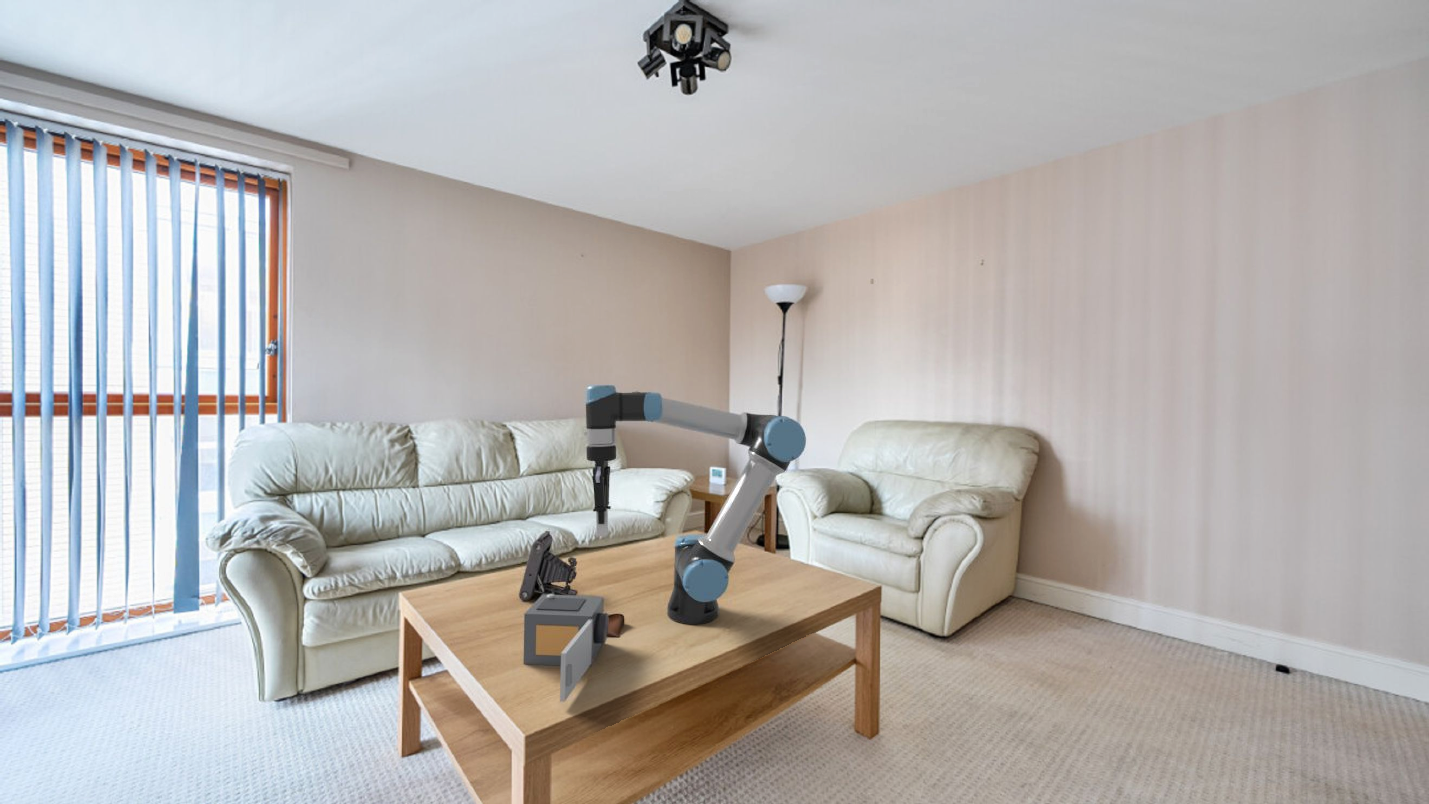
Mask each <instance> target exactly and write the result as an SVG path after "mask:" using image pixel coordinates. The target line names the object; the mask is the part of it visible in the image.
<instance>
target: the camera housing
mask: <svg viewBox="0 0 1429 804" xmlns="http://www.w3.org/2000/svg"><path fill="white" fill-rule="evenodd" d="M604 599H605V597H604V596H594V595H575V596H572V595H554V594H548V595H545V594H542V593H541V595H540V597H539V598H538V599H537V600H536V601H535V602H534V603H532V605H531V606H530V607H529V608H528V609H527V610H526V612H524V617H523V618H524V619H523V665H537V664H538V665H540V666H543V665H544V666H561V653H562V651H563V650H564V649H565V648H566V646H567V645H568V644H569V643H570V642H571V640H572V639H573V638H574V637H575V636H576V634H577V633H578V632H579V631H580V629H581V628H582V627H583V626H584V625H585V623H586V622H587V621H588V619H593V649H592V663H591V664H590V666H589V667H588V668H590V667H591V666H592V664H593V662H594V661H595V658H596V657H597V655H598V652H599V651H600V649H601V647H602V645H604V644H606V641H607V638H608V637H607V634H608V626H609V617H608V614H609V613H607V612H604V603H605V601H604ZM538 665H537V666H538Z"/></svg>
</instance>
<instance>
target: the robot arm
mask: <svg viewBox="0 0 1429 804" xmlns="http://www.w3.org/2000/svg"><path fill="white" fill-rule="evenodd" d="M585 390H586V393H585V423H586V424H585V425H586V426H585V427H586V431H584V433H583V434H584V436H586V444H588V445H587V446H586V460H587V461H588V462H594V467H593V468H592V476H591V477H592V484H593V485H592V486H593V499H594V501H593V502H594V503H593V504H594V508H593V509H592V511H593V512H596V513H595V514H596V517H595V518H596V525H595V527H596V537H608V535H609V511H608V510H611V509H612V508H611V507H612V506H611V505H610V478H611V477H610V475H611V465H609V462H610V461H614V460H616V459H617V446H616V445H615V444H616V443H617V425H616V424H617V422H652V423H656V424H660V425H666V426H669V427H670V426H671V427H674V428H680V429H684V430H688V431H689V430H690V431H692V432H698V433H703V434H707V435H711V436H716V437H719V438H720V437H721V438H724V439H731V440H734V441H735V443H736V444H737V445H741V446H745V447H749V449H748V450H747V453H748V458H749V459H748V461H747V462H746V465H745V466H744V468H743V471H742V472H741V474H740V475H739V477H738V478H737V480H736V483H735V484H734V486H733V487H732V489H731V491H730V493H729V495H728V497H727V498H726V500H725V502H724V504H723V505H722V507H721V509H720V511H719V513H718V514H717V516H716V518H715V519H714V521H713V523H712V525H711V527H710V528H709V530H708V532H707V534H694V533H693V534H685V535H684V534H683V535H679V536H677V537H676V538H675V541H674V546H673V548H674V569H673V570H674V571H673V573H674V574H673V588H672V589H673V590H672V591H671V595H670V597H669V600H668V604H667V609H666V610H667V612H666V615H667V616H668V618H669V619H671V620H672V621H675V622H677V623H680V624H686V625H700V624H701V625H703V624H706V623H710V622H712V621H714V620H716V619H717V618H718V617H719V614H720V613H719V611H720V607H719V603H718V599H719V598H721V597H722V596H723V594H725V592H726V590H727V589H728V586H729V580H730V579H729V578H730V577H729V576H730V575H729V573H730V571H731V569H732V567H733V566H734V563H735V562H736V557H735V550H736V549H737V547H738V546H739V544H740V542H741V540H742V537H744V535H745V533H746V531H747V529H748V527H749V525H750V524H751V522H752V520H753V518H754V516H755V514H756V513H757V511H758V509H759V508H760V506H761V504H762V502H763V500H764V498H765V497H766V495H767V493H768V491H769V490H770V488H771V486H772V484H773V483H774V480H775V479H776V477H777V475H780V474H783V473H786V471H787V470H788V467H789V466H790V464H791V462H792V461H795V460H797V459H798V458H799V457H800V456H801V455H803V452H804V451H805V448H806V444H807V443H806V442H807V437H806V432H805V430H804V428H803V426H802V425H801V424H800V423H799V422H798V421H796V420H795V419H793V418H791V417H788V416H784V415H775V414H755V413H750V412H746V411H743V412H742V413H740V414H738V413H734V412H730V411H725V410H720V409H715V408H711V407H707V406H702V405H697V404H694V403H689V402H683V401H680V400H676V399H675V400H674V399H672V398H668V397H667V398H666V397H662V395H661V393H660V392H651V391H647V392H644V391H643V392H641V391H632V392H617V389H616V386H615V385H612V384H610V385H609V384H602V385H600V384H593V385H588V386H587V388H586V389H585Z"/></svg>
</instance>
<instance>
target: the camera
mask: <svg viewBox="0 0 1429 804" xmlns="http://www.w3.org/2000/svg"><path fill="white" fill-rule="evenodd" d="M552 543H553V536H552V534H551V531H550V530H545V531H544V532H543V533H541V534H540V536H538V538H537V539H536V540H535V541H533V542H532V545H531V546H530V551H529V555H528V558H527V562H526V567H525V569H524V573H523V579H522V582H521V585H520V588H519V592H518V597H519V599H520V600H521V601H523V602H526V601H530V599H531V598H532V597H533V596H534V595H535V594H536V593H539V594H541V595H542V594H545V595H548V594H554V595H572V596H576V594H577V593H578V590H576V589H572V587H571V585H570V584H572V583H573V582H574V580H576V578H577V573H578V572H577V571H576V569H577V565H578V561H577V558H575V557H572V556H569V557H568V558H567V562H568V563H569V564H568V563H567V562H566V561H564V560H562V559H561V558H559V557H558V556H557V555H555V554H554V553H552V552H551V546H552ZM553 583H565V586H561V585H557V584H553Z"/></svg>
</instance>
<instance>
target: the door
mask: <svg viewBox="0 0 1429 804" xmlns="http://www.w3.org/2000/svg"><path fill="white" fill-rule="evenodd" d="M592 649H593V619H588V621H587V622H586V623H585V625H584V626H583V627H582V628H581V629H580V631H579V632H578V633H577V634H576V636H575V637H574V638H573V639H572V640H571V642H570V643H569V644H568V645H567V646H566V648H565V649H564V650H563V651H562V653H561V665H560V683H559V685H560V686H559V687H560V688H559V689H560V690H559V691H560V692H559V701H560V702H563V703H564V702H566V701H567V699H568V698H569V697H570V695H571V694H572V692H573V691H574V689H575V687H577V685H578V683H579V682H580V680H581V679H582V677H583V676H584V674H585V673H586V672H587V670H588V669H589V668H590V667H589V666H590V664H591V663H592ZM592 664H593V663H592Z"/></svg>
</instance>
